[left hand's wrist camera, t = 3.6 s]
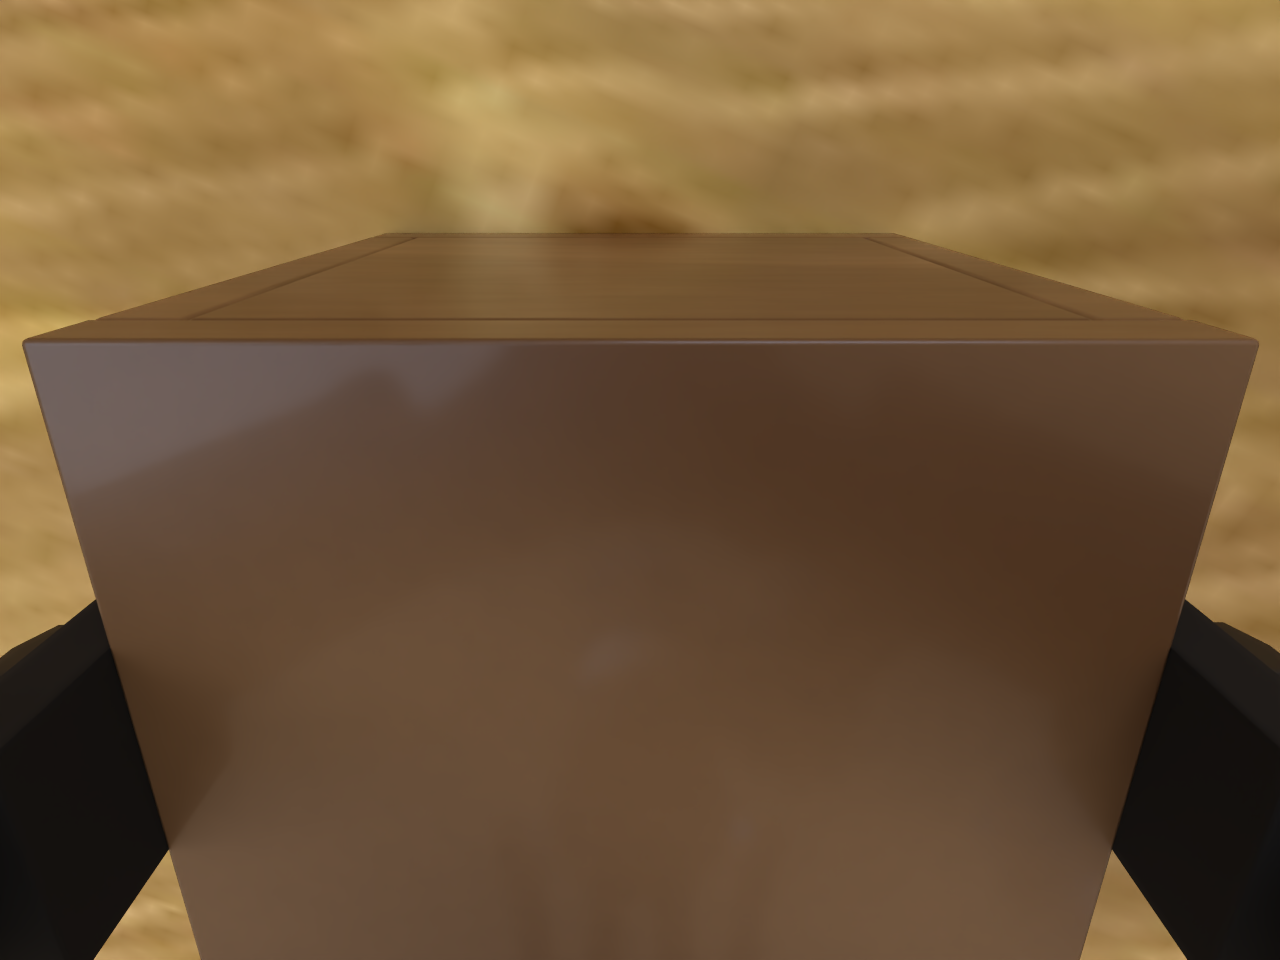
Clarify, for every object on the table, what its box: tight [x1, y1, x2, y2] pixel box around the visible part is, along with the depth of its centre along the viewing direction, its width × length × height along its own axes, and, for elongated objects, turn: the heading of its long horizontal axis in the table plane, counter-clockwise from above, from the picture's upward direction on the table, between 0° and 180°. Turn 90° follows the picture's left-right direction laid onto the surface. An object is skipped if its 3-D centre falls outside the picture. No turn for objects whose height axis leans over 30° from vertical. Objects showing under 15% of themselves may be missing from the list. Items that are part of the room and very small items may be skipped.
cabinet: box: [22, 234, 1259, 960], centre depth 16 cm, size 21×11×11 cm, turn 0°
